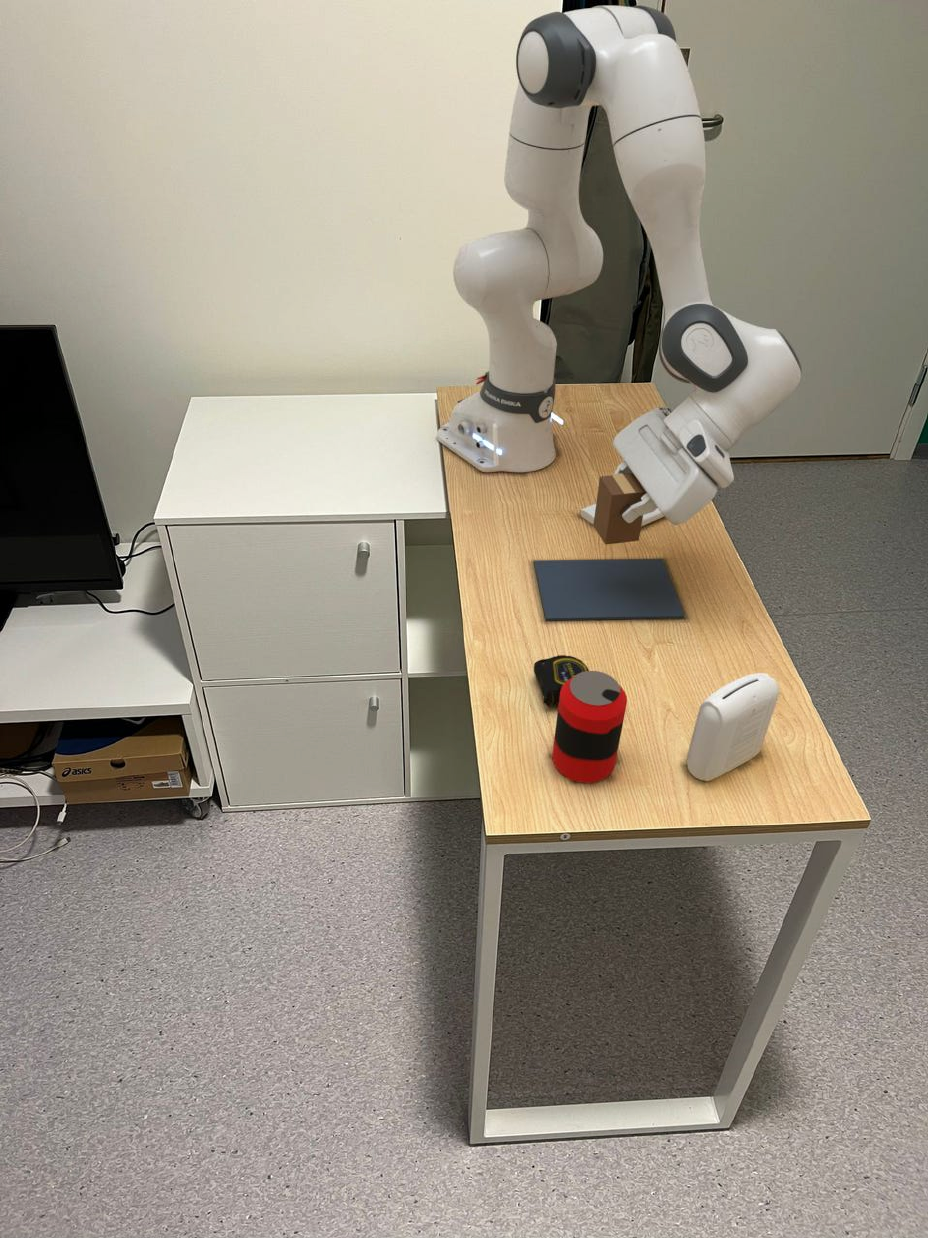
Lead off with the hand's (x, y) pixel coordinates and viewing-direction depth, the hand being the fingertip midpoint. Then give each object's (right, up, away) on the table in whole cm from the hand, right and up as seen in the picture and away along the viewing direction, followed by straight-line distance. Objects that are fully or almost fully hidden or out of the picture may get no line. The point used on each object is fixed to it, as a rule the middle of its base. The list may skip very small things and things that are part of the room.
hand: (615, 505), depth 132 cm
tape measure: (-9, -25, -8) cm, 28 cm away
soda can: (-7, -33, -17) cm, 37 cm away
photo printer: (+10, -33, -16) cm, 38 cm away
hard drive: (+5, +1, +26) cm, 26 cm away
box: (0, -3, +3) cm, 5 cm away
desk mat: (0, -11, +10) cm, 15 cm away
